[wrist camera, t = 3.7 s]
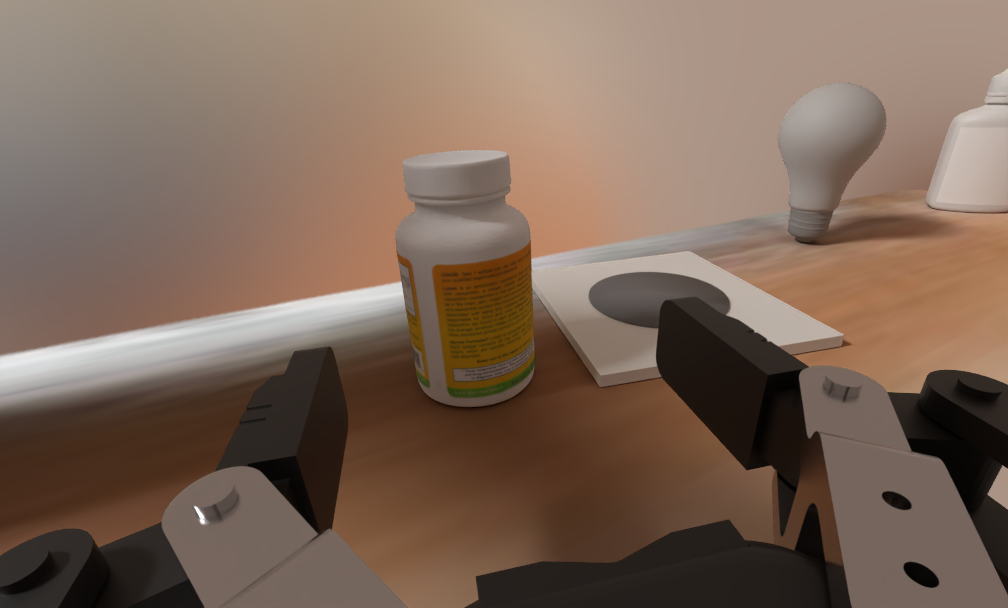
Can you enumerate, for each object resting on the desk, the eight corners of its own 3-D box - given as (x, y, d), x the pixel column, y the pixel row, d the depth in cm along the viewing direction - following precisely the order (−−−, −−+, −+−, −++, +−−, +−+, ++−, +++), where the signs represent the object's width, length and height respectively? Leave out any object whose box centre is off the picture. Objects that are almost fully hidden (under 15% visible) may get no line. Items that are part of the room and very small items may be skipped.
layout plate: (600, 387, 20) (600, 373, 20) (526, 279, 32) (526, 270, 31) (841, 346, 22) (844, 333, 22) (688, 259, 33) (689, 249, 33)
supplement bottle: (555, 361, 22) (553, 147, 18) (493, 427, 18) (473, 170, 14) (464, 336, 25) (444, 146, 21) (392, 389, 21) (350, 165, 17)
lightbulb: (874, 250, 33) (925, 78, 28) (794, 258, 32) (832, 84, 28) (812, 227, 39) (846, 81, 34) (743, 234, 38) (767, 86, 33)
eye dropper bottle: (1001, 218, 38) (1068, 52, 33) (916, 207, 42) (964, 59, 37) (1017, 209, 40) (1082, 51, 35) (934, 199, 44) (982, 58, 39)
